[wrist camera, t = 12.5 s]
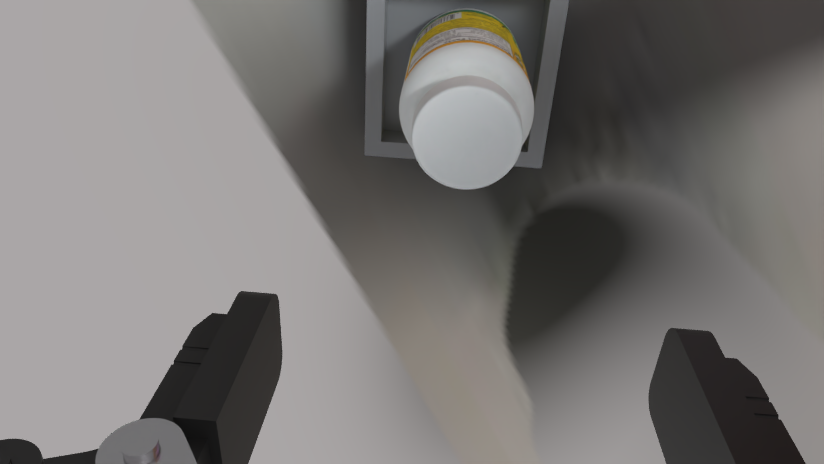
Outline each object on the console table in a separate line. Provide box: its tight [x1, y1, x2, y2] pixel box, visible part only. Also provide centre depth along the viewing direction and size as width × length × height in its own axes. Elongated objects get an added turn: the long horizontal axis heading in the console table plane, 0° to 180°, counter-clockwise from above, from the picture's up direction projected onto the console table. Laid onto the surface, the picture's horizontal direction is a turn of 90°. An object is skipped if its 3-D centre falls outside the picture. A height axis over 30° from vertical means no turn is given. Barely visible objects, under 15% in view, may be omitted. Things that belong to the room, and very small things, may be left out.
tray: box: [364, 0, 569, 168], centre depth 31 cm, size 9×9×2 cm
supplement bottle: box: [399, 8, 534, 190], centre depth 27 cm, size 5×5×10 cm
